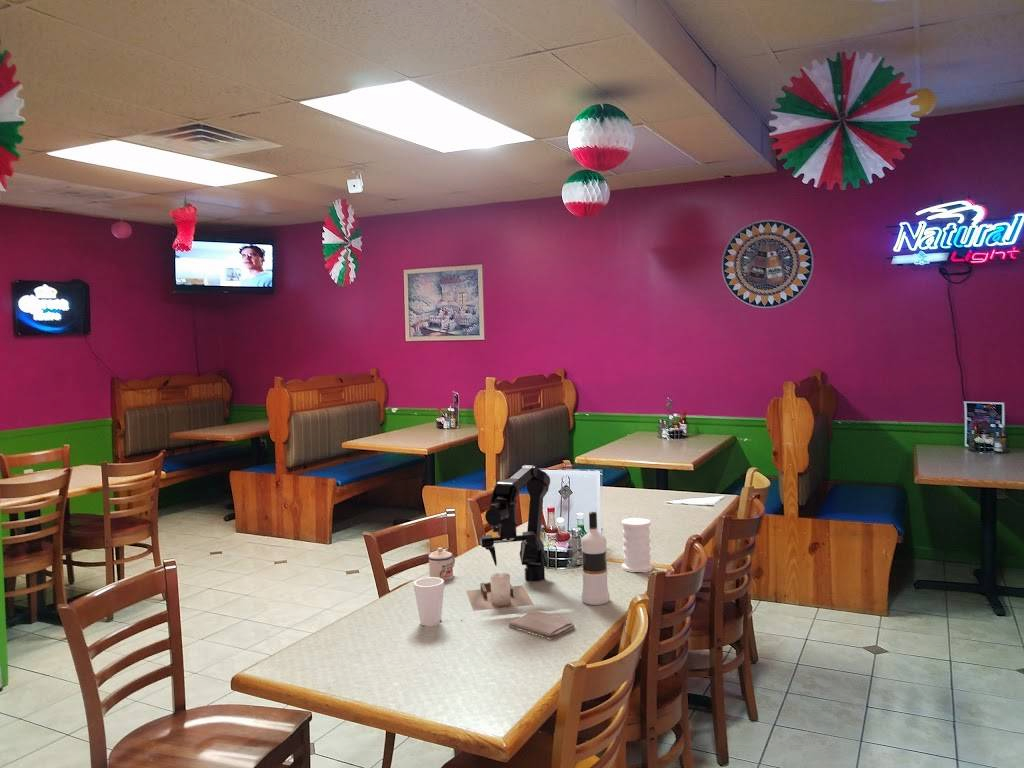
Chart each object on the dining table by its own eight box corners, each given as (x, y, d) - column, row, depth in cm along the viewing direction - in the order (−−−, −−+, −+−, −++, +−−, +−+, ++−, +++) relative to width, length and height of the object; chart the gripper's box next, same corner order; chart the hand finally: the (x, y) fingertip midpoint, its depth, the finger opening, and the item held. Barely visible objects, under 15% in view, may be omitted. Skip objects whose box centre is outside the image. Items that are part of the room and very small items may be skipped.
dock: (522, 588, 269) (522, 578, 268) (533, 607, 249) (533, 596, 249) (466, 593, 265) (465, 583, 265) (473, 613, 245) (472, 602, 245)
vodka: (577, 599, 255) (574, 510, 253) (601, 594, 258) (599, 507, 257) (589, 607, 247) (586, 516, 245) (614, 603, 250) (611, 513, 248)
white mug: (490, 600, 255) (489, 573, 254) (508, 598, 256) (507, 571, 255) (494, 610, 245) (493, 582, 244) (514, 608, 246) (513, 580, 246)
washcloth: (553, 642, 221) (552, 632, 221) (506, 628, 233) (506, 619, 233) (577, 629, 230) (577, 619, 230) (531, 617, 242) (531, 607, 242)
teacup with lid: (442, 584, 276) (440, 552, 276) (424, 580, 282) (422, 549, 281) (463, 575, 286) (462, 544, 285) (446, 571, 291) (444, 541, 291)
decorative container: (643, 562, 294) (642, 516, 293) (658, 570, 283) (657, 522, 282) (616, 566, 290) (615, 519, 289) (630, 574, 279) (629, 526, 278)
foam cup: (450, 618, 242) (448, 578, 241) (438, 629, 233) (436, 587, 232) (423, 615, 245) (421, 576, 244) (410, 626, 236) (408, 585, 236)
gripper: (529, 511, 266) (531, 555, 267) (476, 515, 262) (478, 560, 263) (536, 518, 255) (538, 564, 256) (481, 523, 251) (483, 569, 252)
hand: (509, 564), depth 257 cm, fingers open, 9 cm apart
